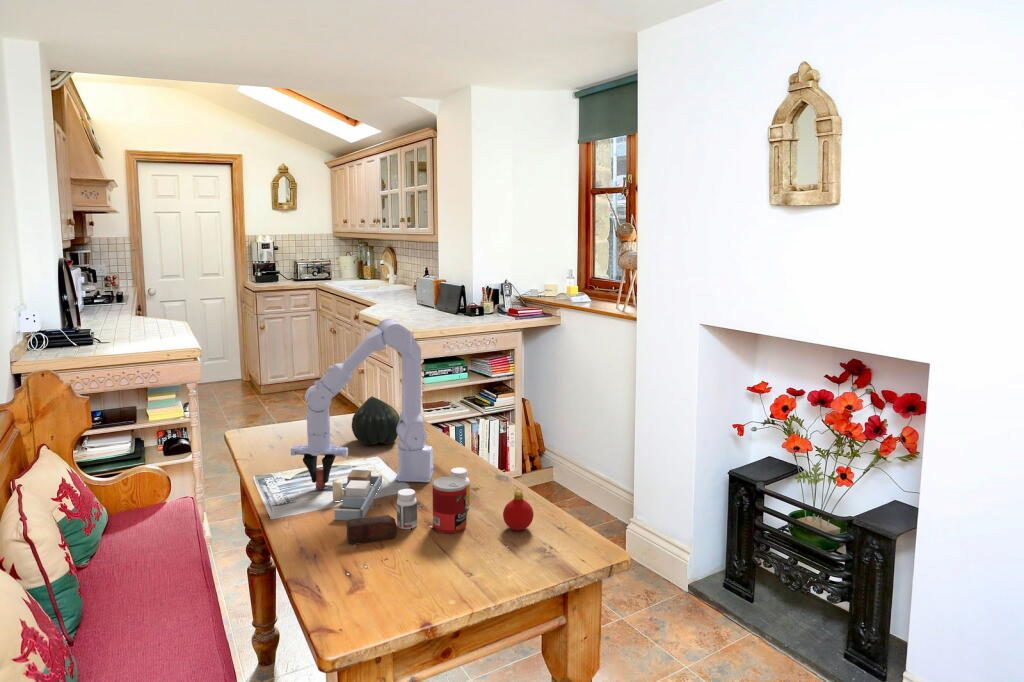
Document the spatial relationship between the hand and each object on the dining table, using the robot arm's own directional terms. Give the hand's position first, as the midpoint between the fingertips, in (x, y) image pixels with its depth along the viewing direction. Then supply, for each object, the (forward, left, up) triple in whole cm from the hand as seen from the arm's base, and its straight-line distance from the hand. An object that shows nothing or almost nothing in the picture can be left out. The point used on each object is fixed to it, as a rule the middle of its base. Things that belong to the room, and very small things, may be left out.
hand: (320, 481), depth 188 cm
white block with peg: (-10, +7, -2) cm, 12 cm away
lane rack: (-12, +7, -2) cm, 14 cm away
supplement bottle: (-37, +9, -2) cm, 39 cm away
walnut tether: (-6, 0, -2) cm, 6 cm away
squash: (-6, -38, -2) cm, 39 cm away
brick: (-20, +27, -2) cm, 33 cm away
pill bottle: (-26, +20, -2) cm, 33 cm away
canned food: (-36, +20, -2) cm, 42 cm away
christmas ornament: (-52, +20, -2) cm, 56 cm away
